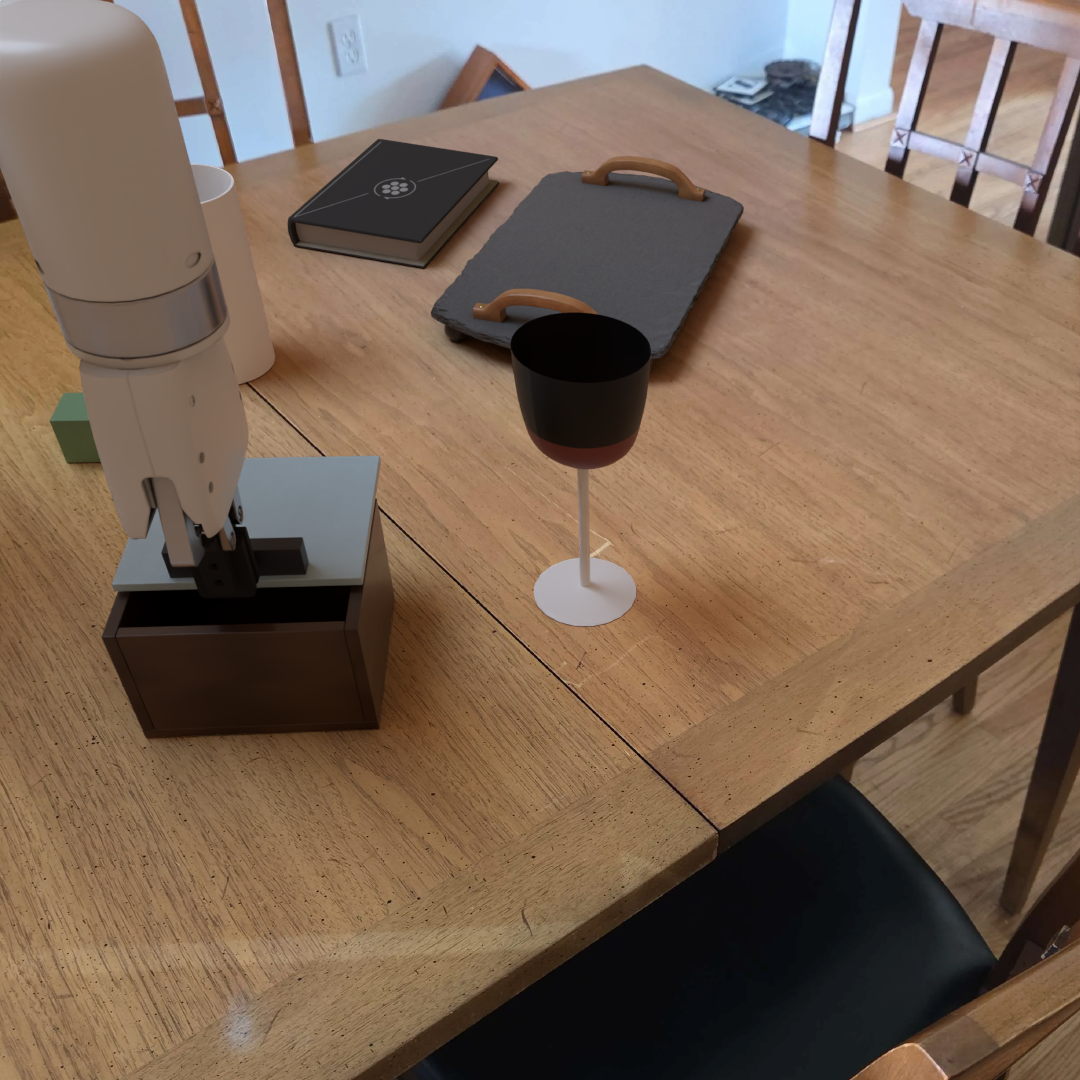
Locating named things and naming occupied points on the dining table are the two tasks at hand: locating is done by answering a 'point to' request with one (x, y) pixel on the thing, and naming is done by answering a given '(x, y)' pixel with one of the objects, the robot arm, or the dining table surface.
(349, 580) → the sliding box lid
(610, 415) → the wineglass
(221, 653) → the case
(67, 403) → the block
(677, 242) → the serving tray
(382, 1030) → the dining table surface
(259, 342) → the cup
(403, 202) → the book
